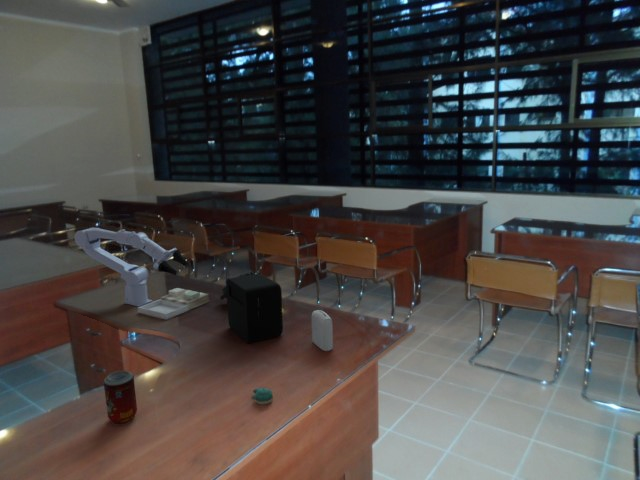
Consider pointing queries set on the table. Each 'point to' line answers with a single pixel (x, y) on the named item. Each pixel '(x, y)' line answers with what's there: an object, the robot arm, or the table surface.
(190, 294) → the tile sage
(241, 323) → the air purifier
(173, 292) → the tile cream
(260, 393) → the green domed piece
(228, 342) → the table surface
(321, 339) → the photo printer
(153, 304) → the box
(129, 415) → the soda can
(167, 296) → the bench board
